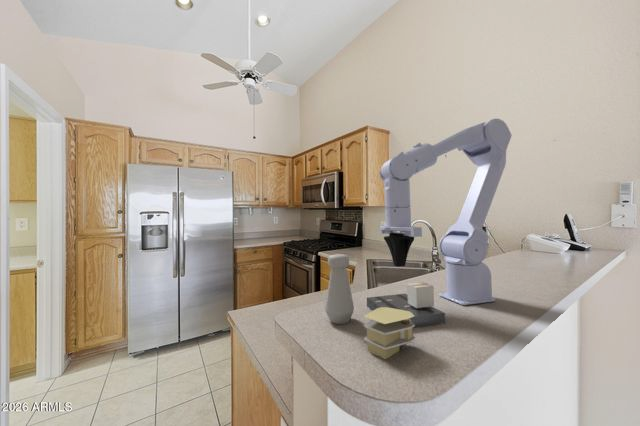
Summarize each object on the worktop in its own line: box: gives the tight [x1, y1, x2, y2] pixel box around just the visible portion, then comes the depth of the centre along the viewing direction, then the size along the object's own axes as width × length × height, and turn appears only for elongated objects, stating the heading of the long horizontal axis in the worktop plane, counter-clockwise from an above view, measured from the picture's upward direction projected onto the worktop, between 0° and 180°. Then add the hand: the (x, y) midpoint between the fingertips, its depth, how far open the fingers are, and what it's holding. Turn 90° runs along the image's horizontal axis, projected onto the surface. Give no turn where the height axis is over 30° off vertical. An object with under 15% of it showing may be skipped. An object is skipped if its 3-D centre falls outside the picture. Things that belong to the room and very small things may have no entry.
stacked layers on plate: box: [363, 307, 416, 360], centre depth 39 cm, size 10×9×6 cm
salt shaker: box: [324, 253, 355, 325], centre depth 50 cm, size 6×6×13 cm
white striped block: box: [406, 282, 435, 308], centre depth 51 cm, size 4×3×4 cm
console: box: [366, 293, 446, 329], centre depth 52 cm, size 10×13×2 cm
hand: (399, 265), depth 58 cm, fingers closed
